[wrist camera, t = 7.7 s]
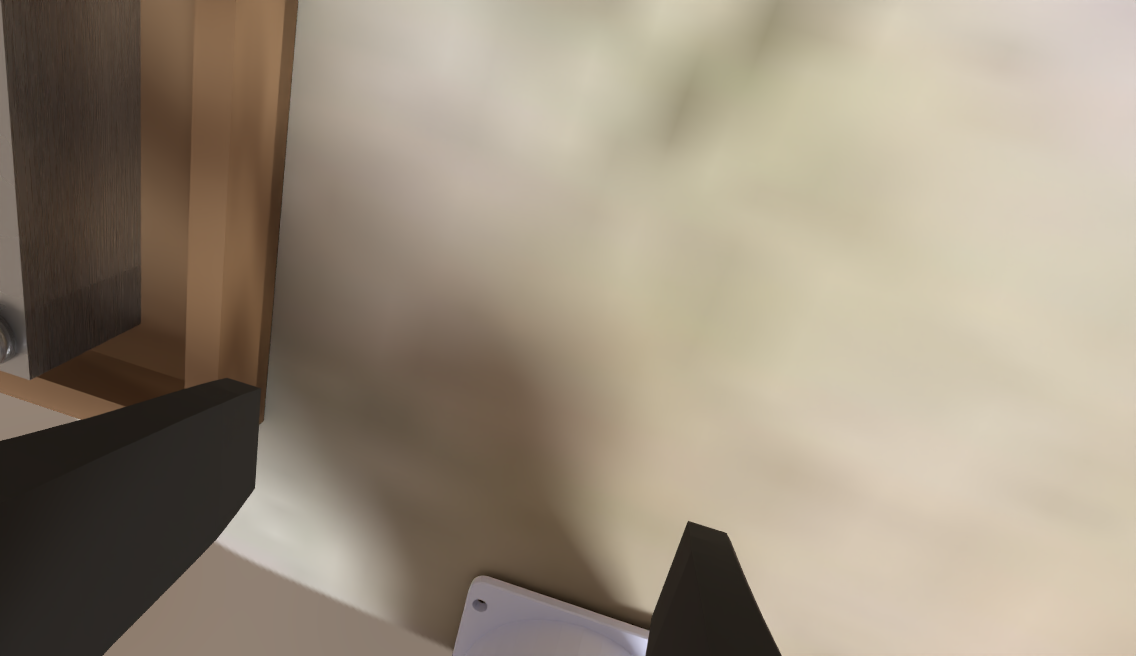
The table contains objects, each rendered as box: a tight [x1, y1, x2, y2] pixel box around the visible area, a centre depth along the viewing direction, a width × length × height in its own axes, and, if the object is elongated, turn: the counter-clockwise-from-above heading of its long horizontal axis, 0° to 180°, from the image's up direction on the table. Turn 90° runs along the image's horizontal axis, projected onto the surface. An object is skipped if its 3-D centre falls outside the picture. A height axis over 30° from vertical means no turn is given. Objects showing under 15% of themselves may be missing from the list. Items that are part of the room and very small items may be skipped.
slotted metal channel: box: [0, 0, 141, 380], centre depth 18 cm, size 13×2×4 cm, turn 166°
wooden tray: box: [0, 0, 298, 424], centre depth 19 cm, size 18×10×3 cm, turn 166°
